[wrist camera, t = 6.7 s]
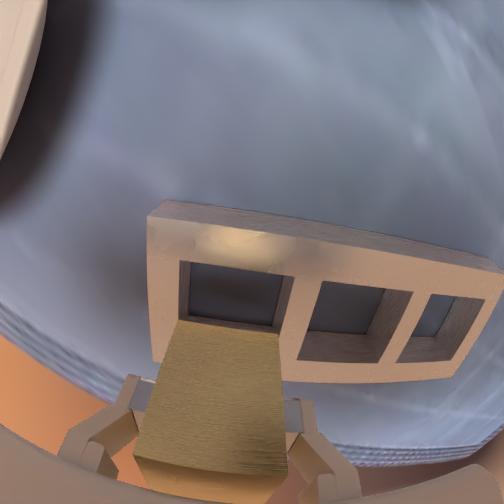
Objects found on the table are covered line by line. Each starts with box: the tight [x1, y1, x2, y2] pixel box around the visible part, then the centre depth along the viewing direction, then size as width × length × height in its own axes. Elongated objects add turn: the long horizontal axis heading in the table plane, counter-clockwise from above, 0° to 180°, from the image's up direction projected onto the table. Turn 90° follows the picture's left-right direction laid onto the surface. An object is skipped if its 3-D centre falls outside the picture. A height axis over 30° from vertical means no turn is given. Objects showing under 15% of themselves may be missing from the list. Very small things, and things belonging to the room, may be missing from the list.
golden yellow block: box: [133, 320, 288, 504], centre depth 9 cm, size 4×4×6 cm
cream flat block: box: [147, 200, 504, 383], centre depth 17 cm, size 23×10×3 cm, turn 81°
